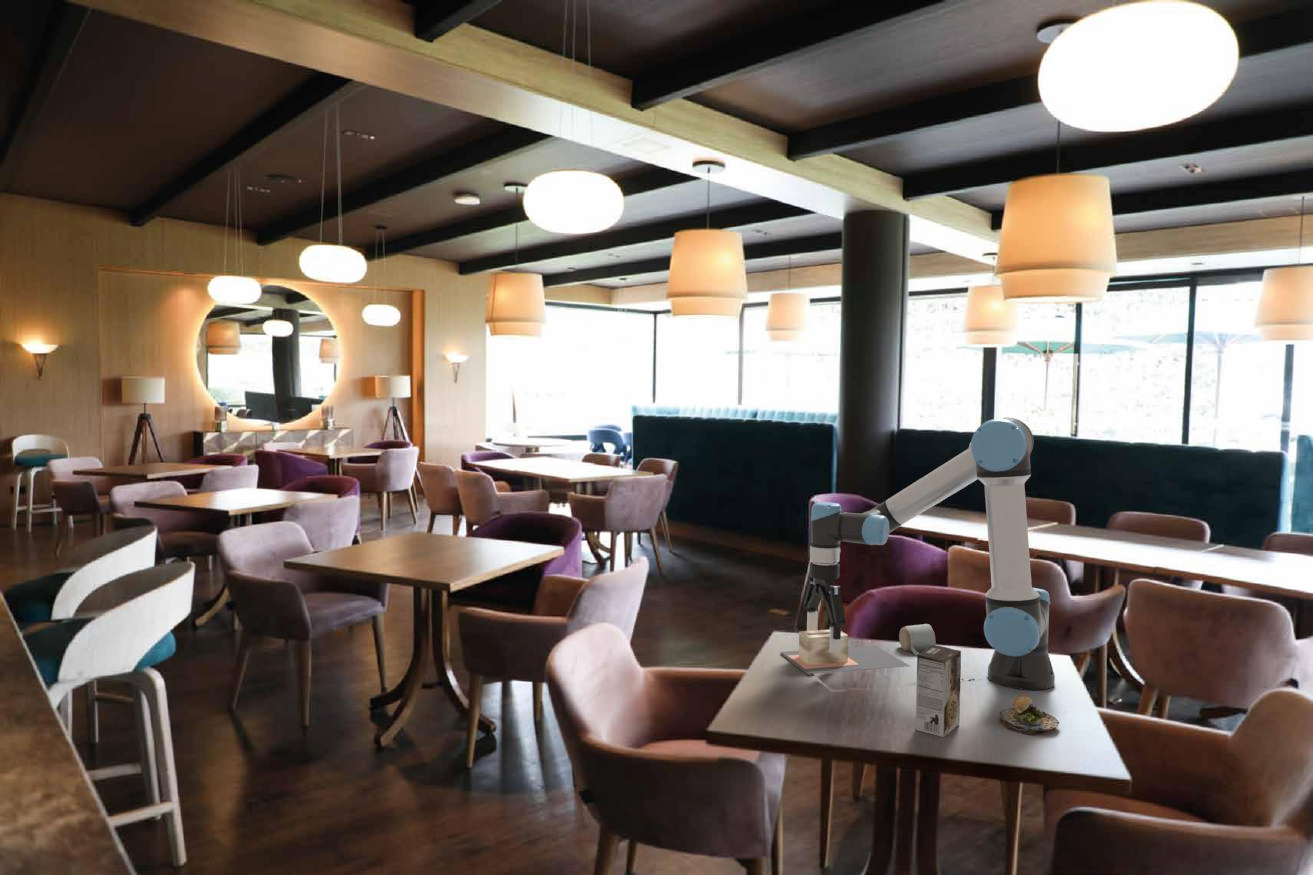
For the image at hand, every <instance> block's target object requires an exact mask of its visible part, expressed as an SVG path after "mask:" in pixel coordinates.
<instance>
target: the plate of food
mask: <svg viewBox="0 0 1313 875" xmlns="http://www.w3.org/2000/svg"><path fill="white" fill-rule="evenodd" d="M1015 689H1016V693H1017V695H1018V697H1017V698H1016V699H1015V700H1014V702H1013V704H1012V705H1013V706H1012V707H1010V708H1005V709H1003V710H1000V712H999V719H998V721H999V724H1001V725H1002V727H1004V728H1006V729H1007V730H1010V731H1012V732H1015V733H1018V734H1023V735H1028V736H1032V737H1033V736H1035V734H1037V732H1047V731H1051V730H1053V729H1055V728H1057V727H1059V725H1060V721H1059V720H1058V719H1057V718H1056V717H1055V716H1053V715H1052V714H1049V713H1047V712H1046V711H1041V710H1040V709H1038V707H1037V706H1036V705H1034V704H1032V702H1033V698H1032V697H1029V696H1020V694H1019V691H1018V690H1017V689H1018V688H1015Z"/></svg>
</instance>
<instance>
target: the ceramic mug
mask: <svg viewBox="0 0 1313 875" xmlns="http://www.w3.org/2000/svg"><path fill="white" fill-rule="evenodd" d="M933 629H934V628H932V625H930V624H928V623H924V624H914V625H906V626H903V627H901V628H900V631H899V633H898V636H899V637H898V639H899V644H900V646H901V649H902V650H903V651H905V652H912V653H913V654H914V656H917V655H918V654H919V653H921V652H922V651H924V650H926V649H927V648H929V647H930V646H932V645H936V635H935V631H934V630H933Z"/></svg>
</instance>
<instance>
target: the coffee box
mask: <svg viewBox="0 0 1313 875" xmlns="http://www.w3.org/2000/svg"><path fill="white" fill-rule="evenodd" d="M916 656H917V659H916V660H917V661H916V662H917V663H916V693H915V694H916V696H915V697H916V699H915V730H916V731H919V732H923V733H927V734H930V735H934V736H938V737H940V738H941V737H942V738H945V737H946V736H947V735H949V734H950V733H951V732H952V731H953V730H955V729H956V727H958V726H959V725H960V724H961V723H960V720H961V719H960V716H961V715H960V714H961V710H960V709H961V677H962V676H961V675H962V674H961V671H962V669H961V668H962V666H961V664H962V650H958V649H953V648H950V647H946V646H941V645H936V644H935V645H932V646H930V647H929V648H927V649H926V650H924V651H922V652H921V651H920V652H919V654H918V655H916Z"/></svg>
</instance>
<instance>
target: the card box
mask: <svg viewBox="0 0 1313 875" xmlns="http://www.w3.org/2000/svg"><path fill="white" fill-rule="evenodd" d="M798 632H799V633H798V651H799V658H800V659H801V660H802V661H804V662H805V663H806V664H808V665H814V664H828V663H842V662H848V647H849V635H848V634H847V633H845V632H843V631H842V630H841V648H840V651H837V652H830V651H829V640H830V629H820V630H819V629H818V630H814V631H807V630H804V631H803V630H802V631H798Z"/></svg>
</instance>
